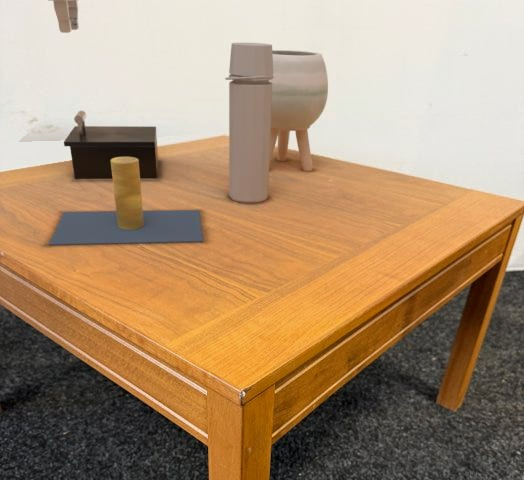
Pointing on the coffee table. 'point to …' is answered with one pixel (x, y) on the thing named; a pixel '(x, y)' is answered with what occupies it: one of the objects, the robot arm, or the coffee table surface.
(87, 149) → the box
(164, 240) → the mat
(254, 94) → the water bottle
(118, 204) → the yellow cylinder
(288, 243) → the coffee table surface
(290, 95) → the planter
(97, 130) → the black box lid
